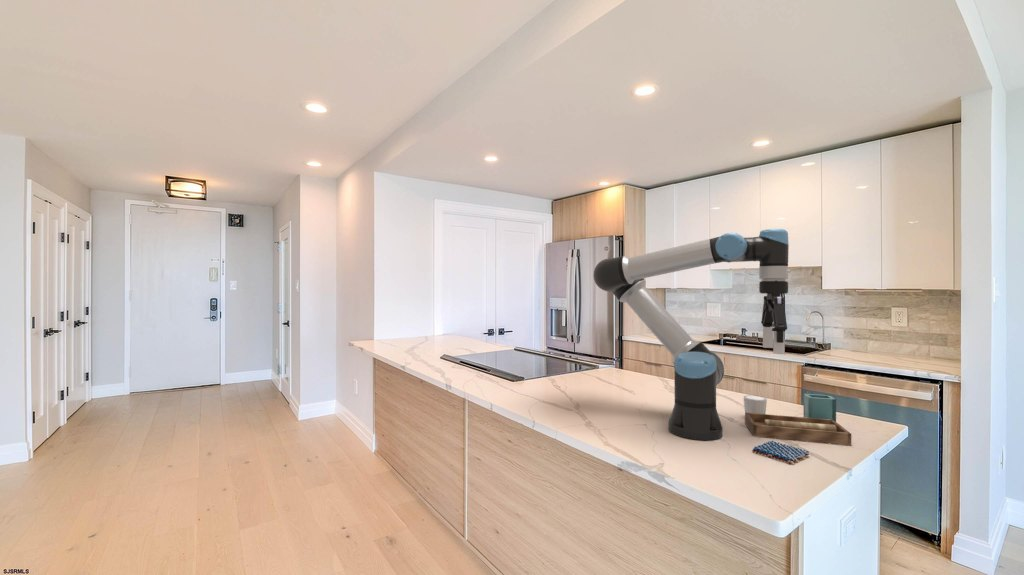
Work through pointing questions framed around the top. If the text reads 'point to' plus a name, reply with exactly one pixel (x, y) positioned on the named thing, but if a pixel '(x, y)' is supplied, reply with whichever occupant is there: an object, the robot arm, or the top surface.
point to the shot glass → (755, 404)
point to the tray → (796, 429)
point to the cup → (819, 406)
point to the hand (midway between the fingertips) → (773, 350)
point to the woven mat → (781, 452)
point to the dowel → (801, 425)
